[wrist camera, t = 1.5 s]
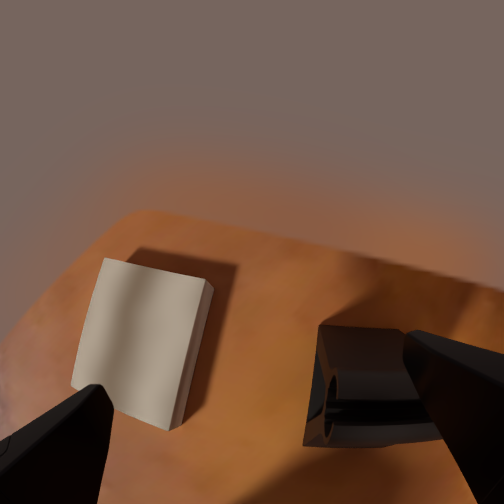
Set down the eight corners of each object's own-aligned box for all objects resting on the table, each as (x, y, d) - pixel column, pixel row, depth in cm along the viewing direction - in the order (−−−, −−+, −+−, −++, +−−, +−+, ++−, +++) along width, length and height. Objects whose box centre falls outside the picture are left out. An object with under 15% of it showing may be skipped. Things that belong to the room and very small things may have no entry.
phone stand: (381, 446, 17) (458, 507, 6) (301, 444, 18) (310, 523, 7) (396, 329, 20) (488, 287, 9) (318, 324, 21) (348, 277, 10)
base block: (214, 288, 23) (205, 279, 21) (181, 425, 19) (168, 431, 17) (119, 267, 25) (104, 257, 22) (88, 386, 21) (70, 386, 19)
